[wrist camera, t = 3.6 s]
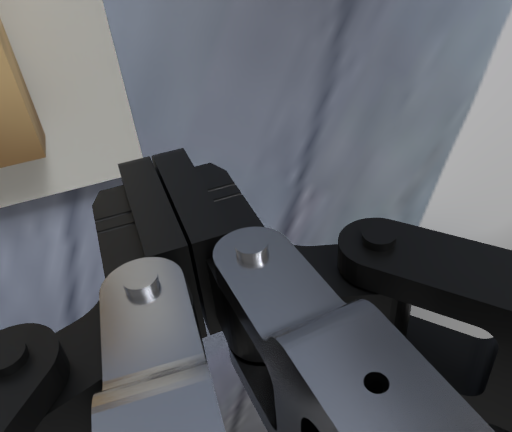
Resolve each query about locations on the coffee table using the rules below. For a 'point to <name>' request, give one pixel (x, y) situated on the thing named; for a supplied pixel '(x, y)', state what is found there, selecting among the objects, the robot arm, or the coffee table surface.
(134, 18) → the coffee table surface
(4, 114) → the oak link
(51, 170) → the board
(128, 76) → the coffee table surface
